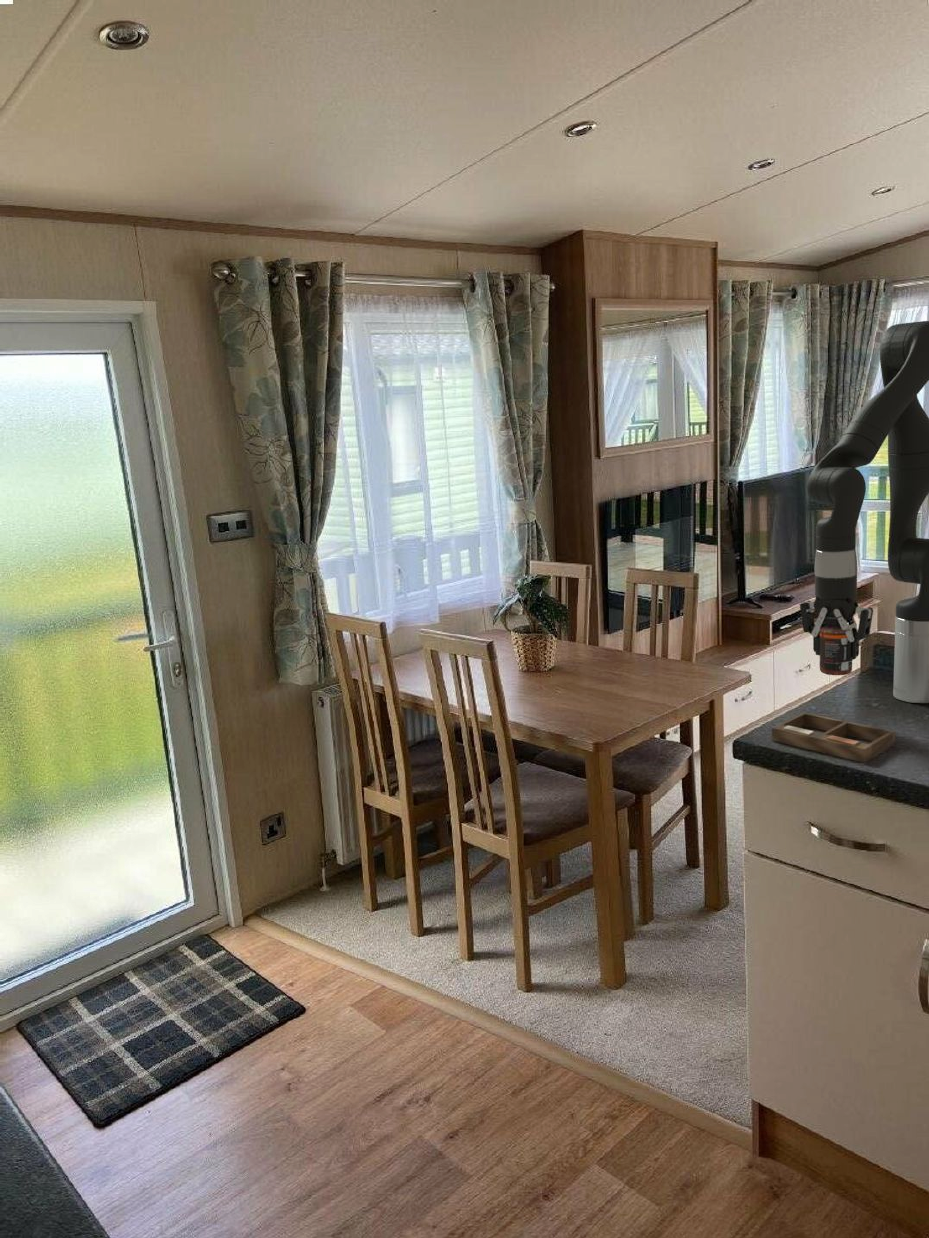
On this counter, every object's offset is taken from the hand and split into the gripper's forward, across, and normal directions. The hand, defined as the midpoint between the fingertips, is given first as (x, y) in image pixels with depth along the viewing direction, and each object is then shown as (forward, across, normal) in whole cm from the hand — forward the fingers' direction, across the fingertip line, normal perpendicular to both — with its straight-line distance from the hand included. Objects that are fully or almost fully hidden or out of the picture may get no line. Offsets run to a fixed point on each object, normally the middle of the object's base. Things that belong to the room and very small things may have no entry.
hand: (835, 656), depth 184 cm
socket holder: (+13, -5, +11) cm, 18 cm away
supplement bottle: (+3, 0, 0) cm, 3 cm away
